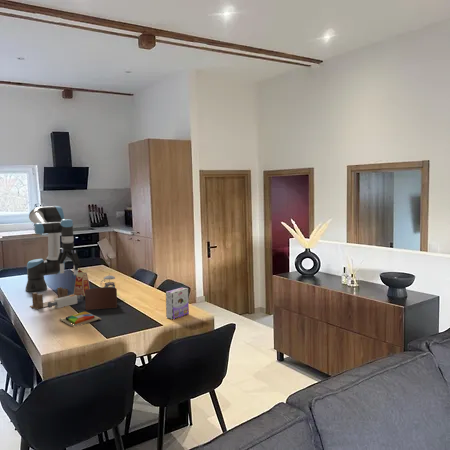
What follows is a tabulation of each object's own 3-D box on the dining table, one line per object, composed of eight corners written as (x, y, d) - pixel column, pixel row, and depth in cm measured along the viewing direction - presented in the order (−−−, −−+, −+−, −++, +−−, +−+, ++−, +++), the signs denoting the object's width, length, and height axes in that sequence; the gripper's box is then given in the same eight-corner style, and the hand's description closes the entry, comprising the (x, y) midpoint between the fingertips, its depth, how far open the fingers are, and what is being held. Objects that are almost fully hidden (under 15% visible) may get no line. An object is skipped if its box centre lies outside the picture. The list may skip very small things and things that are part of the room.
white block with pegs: (47, 308, 278) (46, 299, 277) (80, 300, 297) (79, 292, 296) (51, 310, 275) (50, 300, 274) (83, 302, 294) (83, 293, 293)
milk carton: (84, 296, 309) (83, 268, 307) (73, 295, 310) (71, 268, 309) (91, 293, 317) (90, 266, 316) (79, 292, 319) (78, 266, 318)
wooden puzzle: (58, 321, 253) (58, 315, 252) (88, 314, 266) (88, 309, 266) (71, 328, 240) (71, 322, 240) (102, 320, 254) (102, 315, 253)
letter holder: (117, 307, 279) (116, 286, 278) (85, 310, 274) (84, 288, 272) (116, 303, 288) (116, 283, 287) (86, 306, 283) (85, 285, 282)
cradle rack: (29, 306, 282) (29, 293, 281) (63, 299, 301) (62, 286, 300) (37, 309, 276) (36, 295, 275) (70, 301, 295) (70, 288, 294)
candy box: (182, 312, 266) (181, 286, 265) (189, 314, 262) (188, 288, 261) (165, 318, 256) (165, 291, 254) (172, 320, 252) (172, 292, 250)
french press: (113, 298, 301) (112, 263, 299) (98, 297, 304) (96, 263, 301) (119, 295, 311) (118, 261, 309) (104, 294, 313) (103, 260, 311)
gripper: (50, 242, 289) (52, 273, 290) (75, 244, 276) (77, 276, 278) (60, 241, 295) (61, 271, 297) (85, 242, 282) (86, 274, 284)
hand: (69, 273), depth 287 cm, fingers open, 13 cm apart
